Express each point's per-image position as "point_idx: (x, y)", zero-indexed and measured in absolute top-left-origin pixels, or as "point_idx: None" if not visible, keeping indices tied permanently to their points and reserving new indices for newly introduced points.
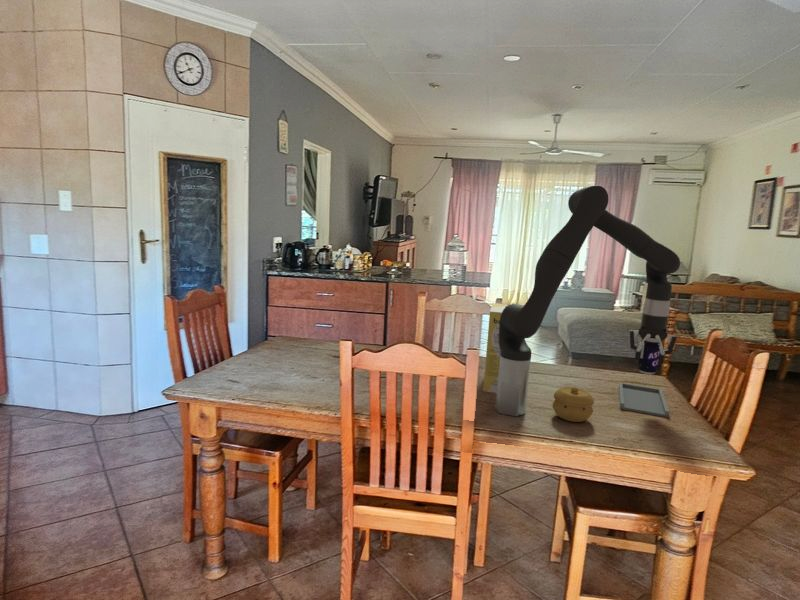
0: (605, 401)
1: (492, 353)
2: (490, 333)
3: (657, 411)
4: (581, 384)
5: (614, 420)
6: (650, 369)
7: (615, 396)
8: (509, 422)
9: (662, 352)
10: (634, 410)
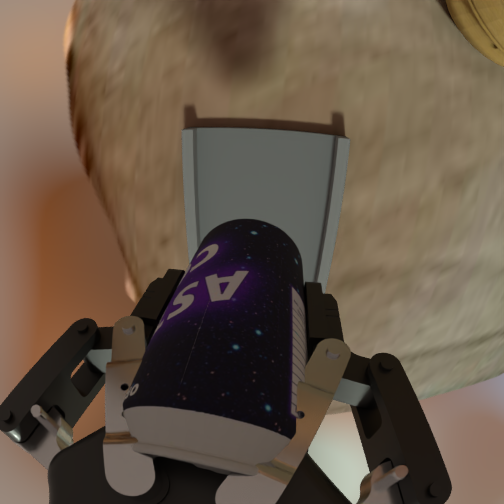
0: (382, 196)
1: None
2: None
3: (218, 147)
4: (410, 317)
5: (370, 22)
6: (234, 226)
7: (338, 260)
8: None
9: (129, 332)
10: (297, 131)
